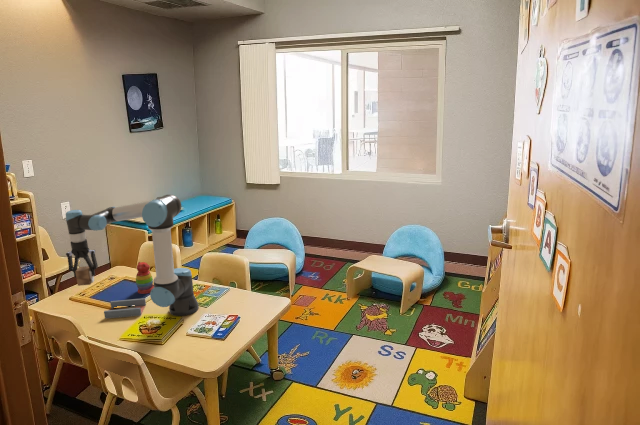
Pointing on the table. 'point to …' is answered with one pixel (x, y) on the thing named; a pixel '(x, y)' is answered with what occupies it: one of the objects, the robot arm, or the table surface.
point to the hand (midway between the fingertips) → (86, 282)
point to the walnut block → (83, 276)
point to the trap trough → (134, 311)
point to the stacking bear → (144, 278)
